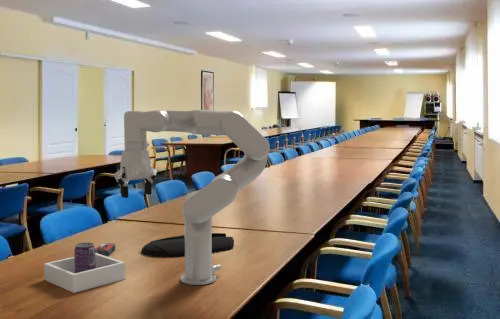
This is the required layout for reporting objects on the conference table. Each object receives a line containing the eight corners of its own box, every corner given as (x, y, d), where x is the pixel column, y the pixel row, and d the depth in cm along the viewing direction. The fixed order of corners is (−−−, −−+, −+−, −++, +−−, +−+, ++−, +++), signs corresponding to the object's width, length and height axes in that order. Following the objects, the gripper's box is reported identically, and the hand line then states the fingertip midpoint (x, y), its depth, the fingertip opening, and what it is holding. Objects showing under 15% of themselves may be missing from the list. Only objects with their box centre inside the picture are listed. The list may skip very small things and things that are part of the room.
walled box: (94, 267, 205) (94, 252, 204) (125, 278, 191) (124, 262, 191) (44, 279, 190) (44, 263, 190) (73, 292, 177) (73, 275, 176)
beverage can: (95, 273, 195) (94, 241, 194) (96, 279, 189) (95, 246, 188) (75, 275, 193) (74, 243, 192) (75, 281, 186) (74, 247, 185)
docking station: (134, 248, 236) (134, 237, 236) (219, 238, 254) (219, 227, 254) (150, 262, 214) (150, 250, 214) (241, 250, 232) (241, 239, 232)
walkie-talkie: (96, 249, 233) (81, 262, 214) (96, 239, 233) (81, 251, 213) (116, 249, 233) (103, 262, 213) (116, 239, 233) (103, 251, 213)
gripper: (149, 145, 194) (150, 191, 196) (107, 147, 181) (109, 197, 183) (162, 146, 189) (163, 194, 191) (120, 148, 176) (121, 200, 178)
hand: (136, 195), depth 187 cm, fingers open, 9 cm apart
